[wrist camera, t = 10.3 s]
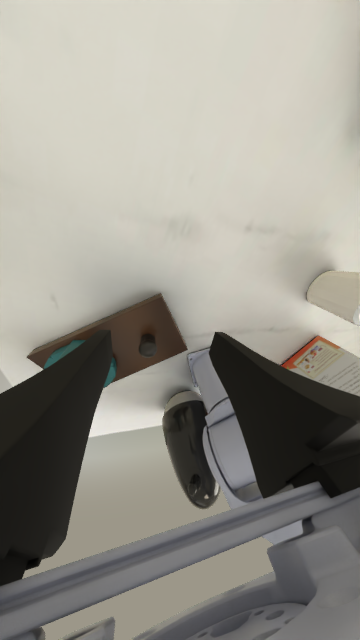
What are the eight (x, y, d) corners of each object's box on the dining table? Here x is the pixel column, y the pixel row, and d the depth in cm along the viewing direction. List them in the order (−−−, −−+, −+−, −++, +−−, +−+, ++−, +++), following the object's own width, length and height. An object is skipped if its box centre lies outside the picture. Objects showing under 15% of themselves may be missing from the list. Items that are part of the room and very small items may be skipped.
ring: (117, 383, 23) (110, 419, 19) (58, 387, 21) (32, 429, 16) (114, 340, 19) (103, 372, 14) (39, 339, 17) (-2, 377, 12)
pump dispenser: (195, 376, 29) (235, 488, 16) (210, 399, 34) (248, 497, 21) (151, 396, 29) (154, 522, 16) (172, 416, 34) (187, 522, 21)
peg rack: (161, 292, 19) (167, 318, 13) (185, 344, 24) (198, 379, 18) (33, 349, 19) (-21, 401, 13) (85, 387, 24) (64, 437, 18)
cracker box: (278, 382, 36) (403, 518, 18) (266, 375, 34) (400, 527, 16) (326, 344, 32) (547, 472, 14) (318, 334, 30) (574, 474, 12)
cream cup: (347, 280, 24) (413, 293, 18) (314, 312, 26) (362, 333, 20) (331, 257, 21) (404, 264, 15) (296, 295, 23) (346, 314, 17)
